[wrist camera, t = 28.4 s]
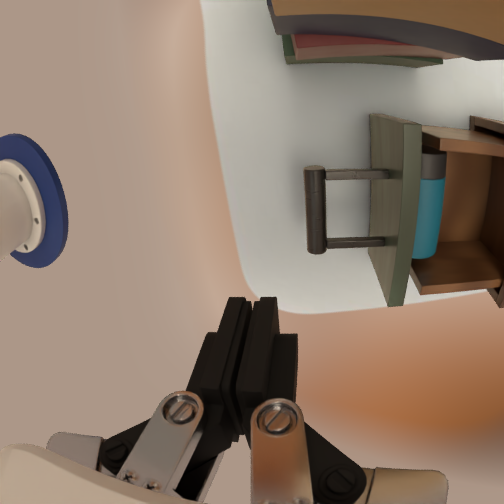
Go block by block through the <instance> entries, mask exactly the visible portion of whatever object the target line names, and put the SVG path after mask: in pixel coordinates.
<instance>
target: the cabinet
mask: <svg viewBox="0 0 504 504" xmlns="http://www.w3.org/2000/svg"><path fill="white" fill-rule="evenodd" d="M470 131H477V132H484V133H490V134H495V135H498V136H501V137H504V122H502V121H497V120H492V119H487V118H482V117H476V116H470ZM486 289H487V291H488V292H489V293H490V295H491V296H492V297H493V299H494V301H495V302H496V304H497V305H498V307H499V308H504V281H503V284H502V287H495V288H486Z"/></svg>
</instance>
